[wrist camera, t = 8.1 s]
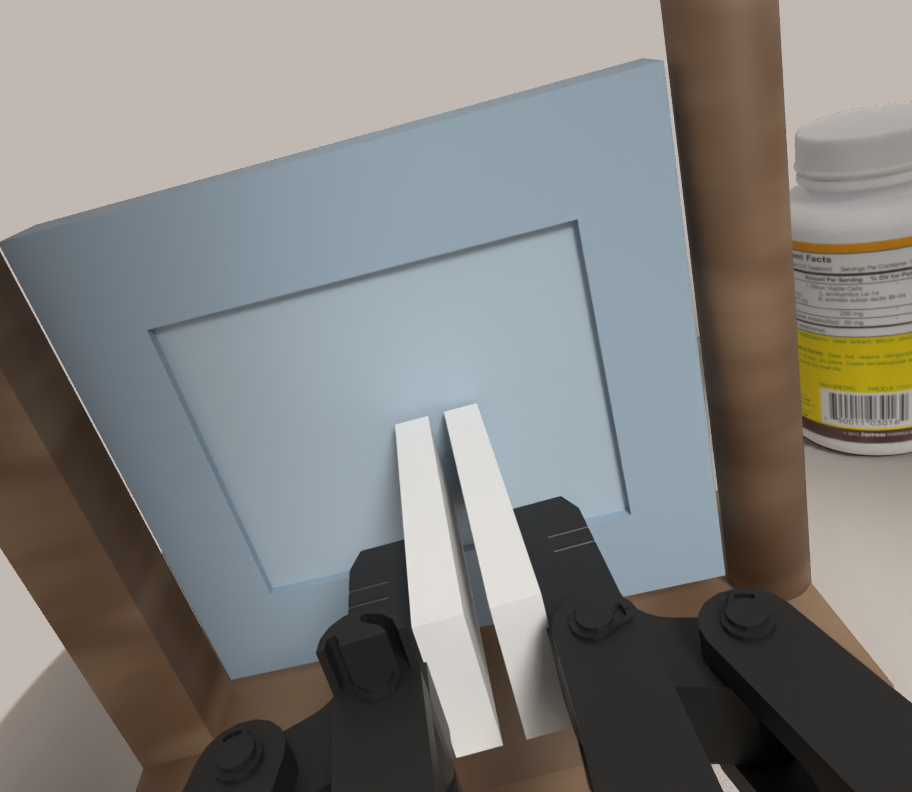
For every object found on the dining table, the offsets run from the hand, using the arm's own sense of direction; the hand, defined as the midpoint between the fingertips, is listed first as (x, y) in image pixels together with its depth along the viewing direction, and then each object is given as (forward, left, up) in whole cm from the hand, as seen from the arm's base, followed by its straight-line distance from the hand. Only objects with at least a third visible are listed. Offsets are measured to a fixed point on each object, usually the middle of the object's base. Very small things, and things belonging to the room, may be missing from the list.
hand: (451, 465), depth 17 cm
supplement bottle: (-14, -7, -7) cm, 17 cm away
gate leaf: (+1, -1, -5) cm, 5 cm away
